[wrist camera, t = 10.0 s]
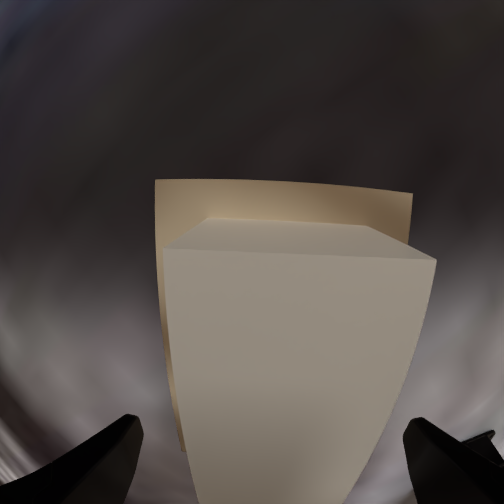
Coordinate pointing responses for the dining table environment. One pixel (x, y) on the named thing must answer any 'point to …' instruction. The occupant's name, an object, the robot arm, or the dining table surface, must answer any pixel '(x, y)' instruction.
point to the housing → (288, 352)
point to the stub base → (266, 218)
